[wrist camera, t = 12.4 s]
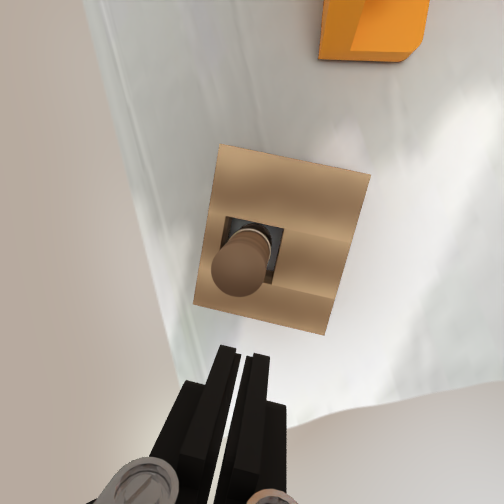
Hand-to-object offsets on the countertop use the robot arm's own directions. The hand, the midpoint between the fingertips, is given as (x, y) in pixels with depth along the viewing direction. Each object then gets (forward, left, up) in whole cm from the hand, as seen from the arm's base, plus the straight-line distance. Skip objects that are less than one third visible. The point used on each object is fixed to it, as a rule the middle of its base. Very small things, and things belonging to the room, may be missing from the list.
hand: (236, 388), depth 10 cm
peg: (0, -2, -20) cm, 20 cm away
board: (-1, 0, -20) cm, 20 cm away
